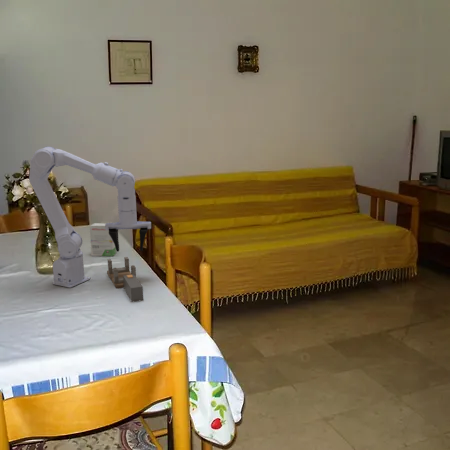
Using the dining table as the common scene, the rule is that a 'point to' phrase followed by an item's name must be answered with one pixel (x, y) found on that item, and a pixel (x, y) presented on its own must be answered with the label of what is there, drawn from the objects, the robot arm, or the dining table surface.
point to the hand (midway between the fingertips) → (129, 250)
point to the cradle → (120, 272)
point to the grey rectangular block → (133, 287)
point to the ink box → (101, 241)
